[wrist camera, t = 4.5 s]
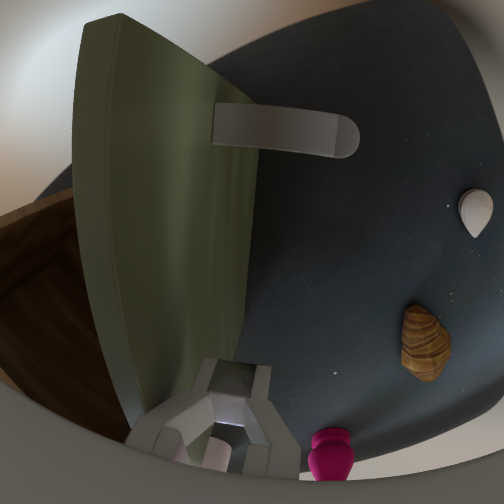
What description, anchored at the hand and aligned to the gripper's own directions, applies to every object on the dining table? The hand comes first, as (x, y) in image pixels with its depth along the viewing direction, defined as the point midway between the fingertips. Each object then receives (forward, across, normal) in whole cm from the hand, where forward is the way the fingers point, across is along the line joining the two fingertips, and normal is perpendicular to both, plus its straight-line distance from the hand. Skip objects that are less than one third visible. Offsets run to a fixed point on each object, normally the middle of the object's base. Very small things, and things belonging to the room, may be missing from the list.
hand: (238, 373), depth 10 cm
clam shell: (+19, -20, -3) cm, 28 cm away
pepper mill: (+18, -12, +35) cm, 41 cm away
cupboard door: (+18, 0, +1) cm, 18 cm away
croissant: (+19, -19, +13) cm, 30 cm away
